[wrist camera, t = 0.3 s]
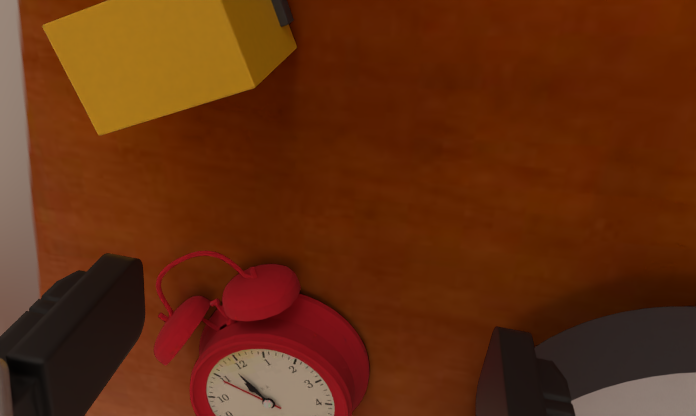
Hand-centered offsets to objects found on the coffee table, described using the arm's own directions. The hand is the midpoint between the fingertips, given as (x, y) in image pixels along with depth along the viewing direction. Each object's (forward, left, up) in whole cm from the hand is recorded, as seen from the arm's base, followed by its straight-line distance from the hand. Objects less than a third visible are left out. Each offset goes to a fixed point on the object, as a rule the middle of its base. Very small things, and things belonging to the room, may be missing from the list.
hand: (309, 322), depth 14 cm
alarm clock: (+16, -4, -18) cm, 24 cm away
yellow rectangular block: (-2, -8, -17) cm, 20 cm away
